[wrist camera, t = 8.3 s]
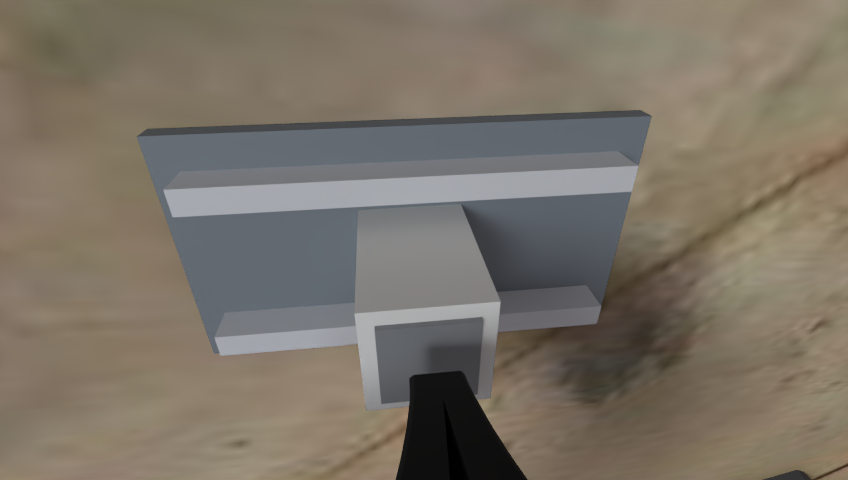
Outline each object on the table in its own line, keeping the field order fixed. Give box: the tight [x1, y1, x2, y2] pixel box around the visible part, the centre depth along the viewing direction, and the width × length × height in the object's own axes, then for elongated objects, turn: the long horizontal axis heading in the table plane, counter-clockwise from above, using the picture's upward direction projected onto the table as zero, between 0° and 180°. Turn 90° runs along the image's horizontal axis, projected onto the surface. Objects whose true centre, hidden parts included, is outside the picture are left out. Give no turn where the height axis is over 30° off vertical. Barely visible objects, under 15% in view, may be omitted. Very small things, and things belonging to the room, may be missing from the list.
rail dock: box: [137, 110, 652, 356], centre depth 18 cm, size 10×18×2 cm, turn 90°
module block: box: [354, 204, 501, 411], centre depth 15 cm, size 4×4×6 cm
